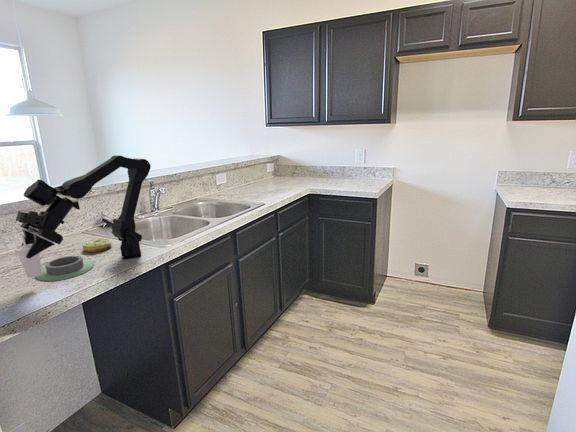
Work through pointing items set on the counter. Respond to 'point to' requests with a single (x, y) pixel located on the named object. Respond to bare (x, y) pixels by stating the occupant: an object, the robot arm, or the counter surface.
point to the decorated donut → (97, 245)
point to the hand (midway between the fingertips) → (23, 255)
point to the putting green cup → (65, 268)
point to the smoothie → (28, 260)
